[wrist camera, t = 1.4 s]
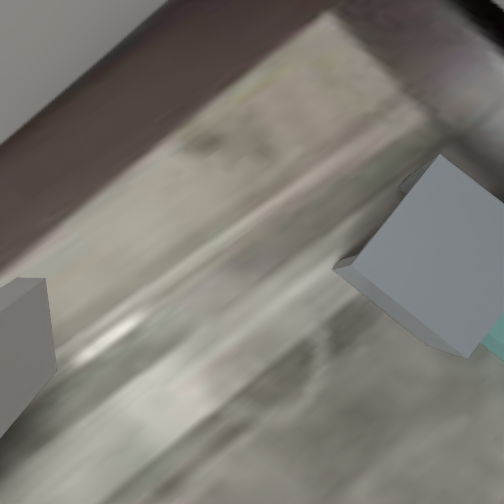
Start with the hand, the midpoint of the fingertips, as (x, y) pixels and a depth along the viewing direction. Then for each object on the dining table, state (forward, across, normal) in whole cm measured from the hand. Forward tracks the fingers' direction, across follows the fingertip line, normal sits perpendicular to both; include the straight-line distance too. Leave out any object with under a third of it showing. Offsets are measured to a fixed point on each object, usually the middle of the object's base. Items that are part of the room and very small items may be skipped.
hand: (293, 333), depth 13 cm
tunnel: (+28, -11, +7) cm, 31 cm away
